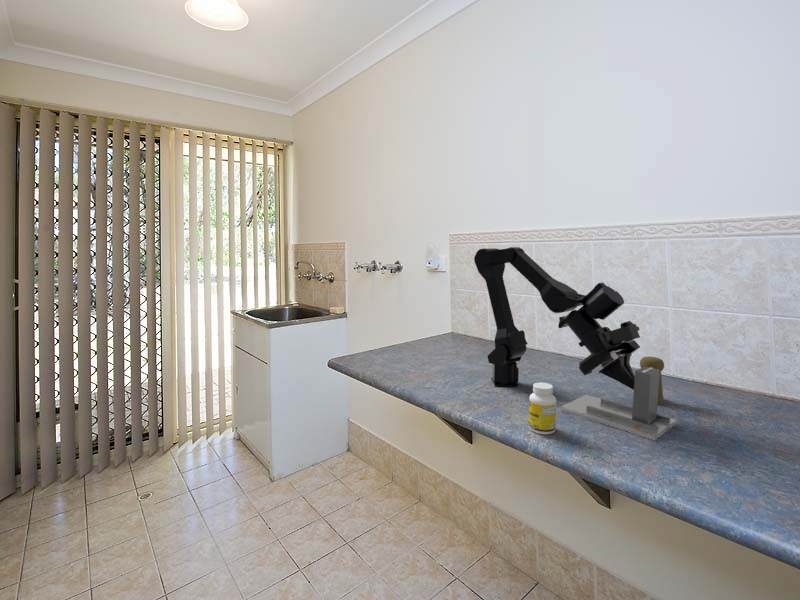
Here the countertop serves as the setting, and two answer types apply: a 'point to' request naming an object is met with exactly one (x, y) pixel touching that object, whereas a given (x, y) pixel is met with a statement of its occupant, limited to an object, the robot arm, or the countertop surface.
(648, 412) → the fader tab
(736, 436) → the countertop surface
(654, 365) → the cork
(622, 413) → the plate
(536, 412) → the supplement bottle
